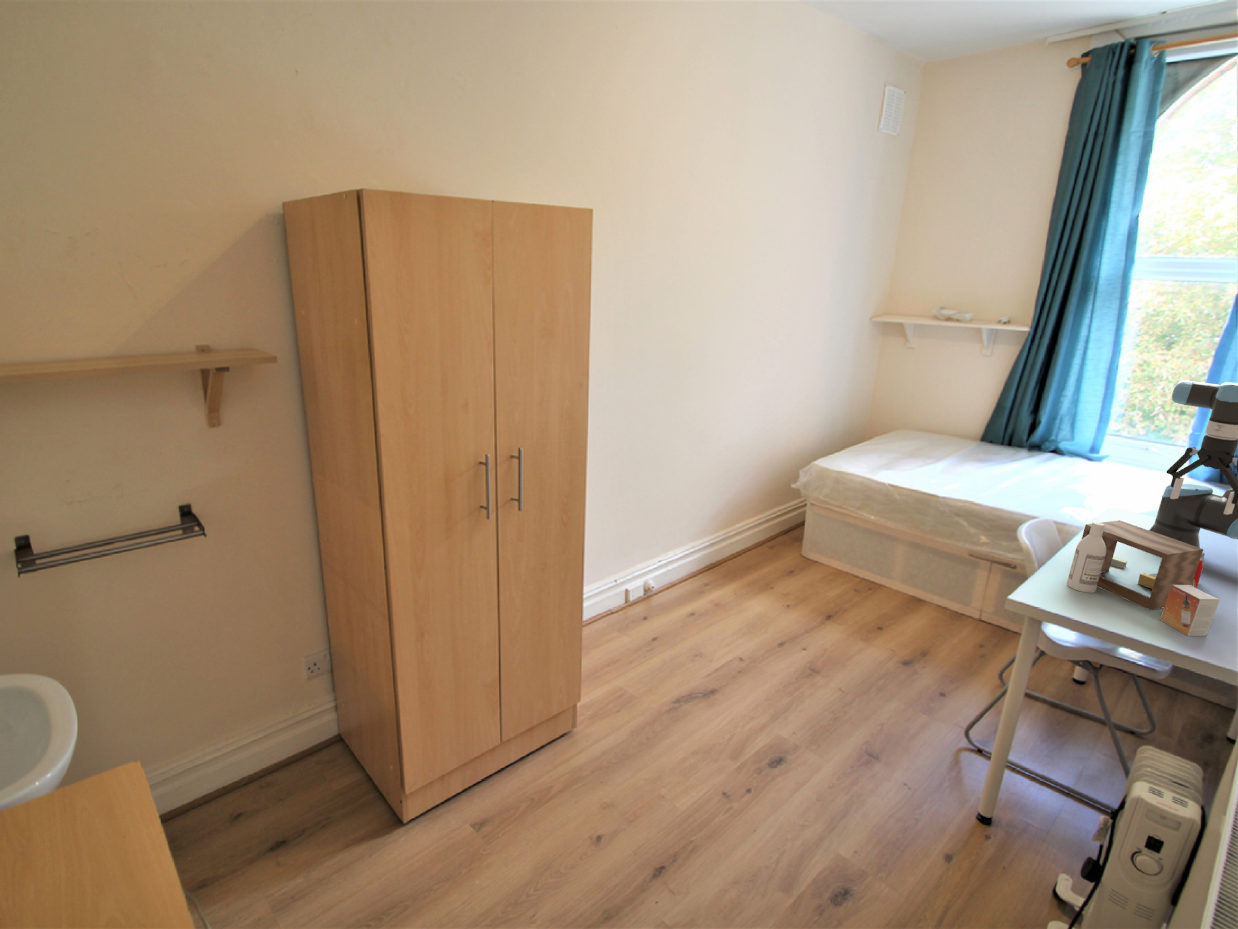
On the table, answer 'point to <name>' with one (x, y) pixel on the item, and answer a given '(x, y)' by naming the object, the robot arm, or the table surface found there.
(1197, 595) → the small box
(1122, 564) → the plain stick
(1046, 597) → the table surface
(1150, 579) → the crook
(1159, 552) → the cubby
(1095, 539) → the bath foam
